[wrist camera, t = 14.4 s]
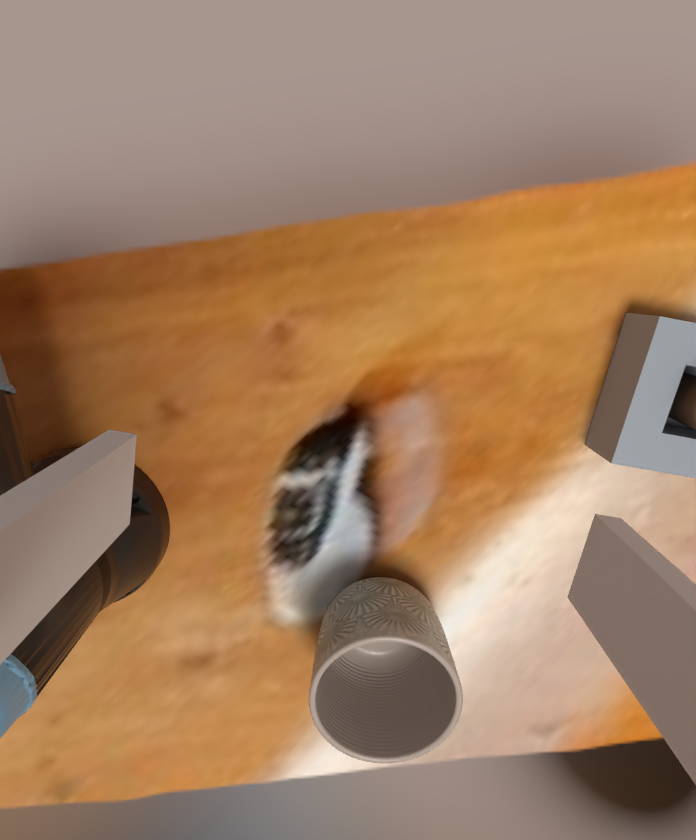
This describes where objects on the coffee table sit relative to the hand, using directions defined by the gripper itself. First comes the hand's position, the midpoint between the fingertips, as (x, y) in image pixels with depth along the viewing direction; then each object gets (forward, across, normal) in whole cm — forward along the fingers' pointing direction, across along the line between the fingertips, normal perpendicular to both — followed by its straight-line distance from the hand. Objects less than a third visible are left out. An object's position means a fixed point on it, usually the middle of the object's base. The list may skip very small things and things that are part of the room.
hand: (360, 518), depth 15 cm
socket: (+32, +28, +2) cm, 42 cm away
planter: (+32, +7, -25) cm, 41 cm away
